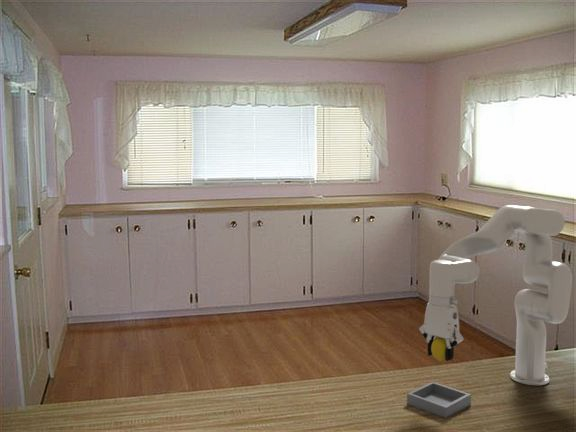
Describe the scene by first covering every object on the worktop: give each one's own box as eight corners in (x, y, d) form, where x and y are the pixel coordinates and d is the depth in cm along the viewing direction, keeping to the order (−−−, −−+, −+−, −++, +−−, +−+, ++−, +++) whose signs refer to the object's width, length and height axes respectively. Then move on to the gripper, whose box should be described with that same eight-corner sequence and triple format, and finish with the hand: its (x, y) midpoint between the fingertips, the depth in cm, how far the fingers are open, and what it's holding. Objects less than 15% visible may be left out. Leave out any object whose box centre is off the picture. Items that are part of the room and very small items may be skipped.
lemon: (449, 365, 177) (450, 339, 176) (431, 363, 178) (431, 338, 178) (448, 358, 183) (449, 334, 182) (430, 357, 184) (431, 333, 183)
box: (432, 391, 192) (432, 381, 191) (470, 405, 181) (470, 394, 181) (406, 404, 182) (407, 393, 182) (445, 419, 172) (446, 407, 172)
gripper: (473, 303, 175) (471, 361, 177) (424, 293, 187) (423, 347, 189) (459, 307, 170) (458, 367, 172) (411, 297, 182) (410, 353, 184)
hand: (440, 356), depth 180 cm, fingers closed on lemon, 5 cm apart
